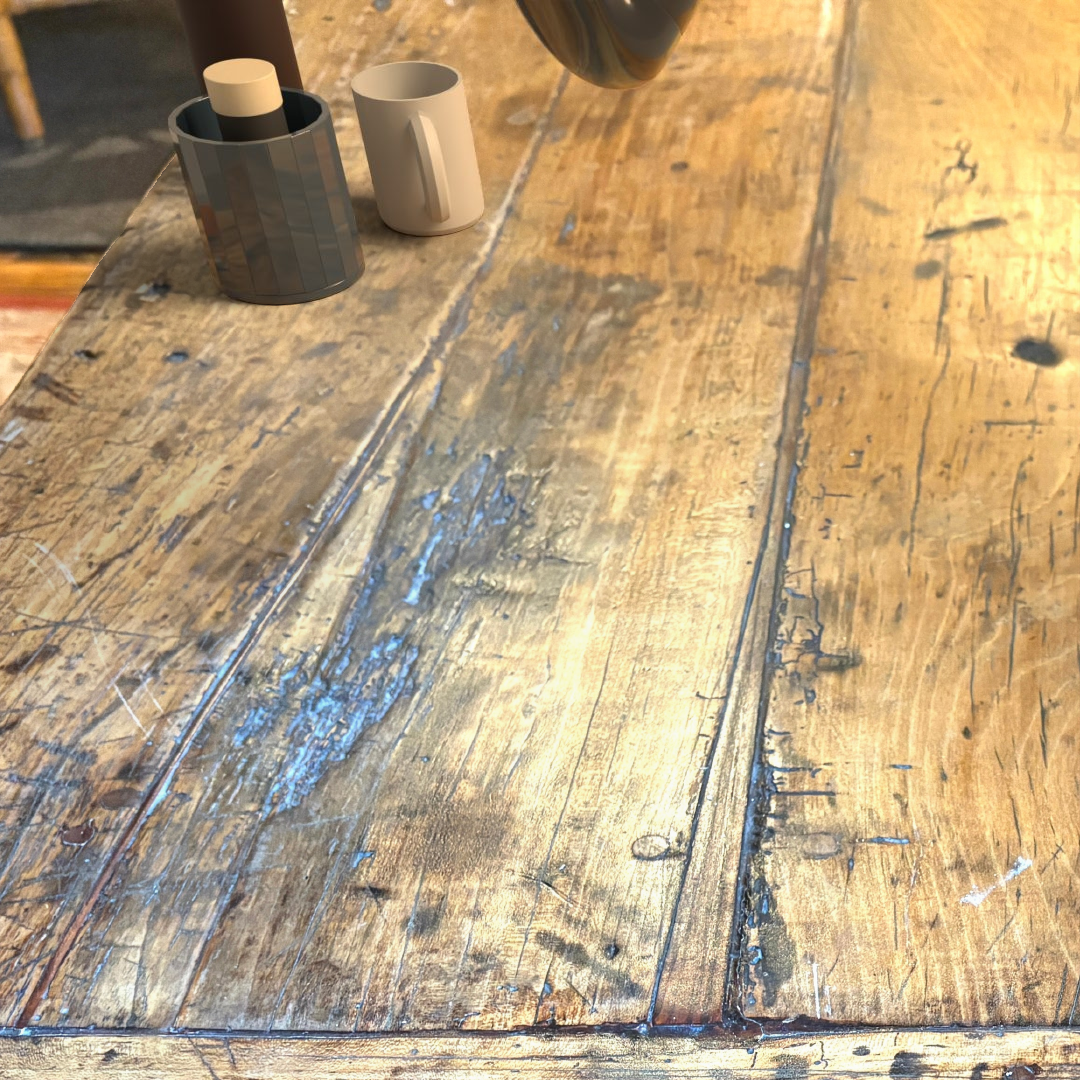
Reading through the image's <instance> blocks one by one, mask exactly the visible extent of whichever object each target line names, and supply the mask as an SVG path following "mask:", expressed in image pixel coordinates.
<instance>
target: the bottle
mask: <svg viewBox="0 0 1080 1080" xmlns="http://www.w3.org/2000/svg"><path fill="white" fill-rule="evenodd" d="M174 1H175V4H176V9H177V11H178V15H179V19H180V22H181V25H182V30H183V33H184V36H185V40H186V44H187V48H188V51H189V54H190V59H191V62H192V65H193V69H194V71H195V75H196V80H197V83H198V86H199V90H200V94H201V96H203V95H206V94H208V91H207V87H206V84H205V80H204V76H203V72H204V70H205V69H206V68H207V67H209V66H211V65H213V64H215V63H218V62H222V61H226V60H232V59H259V60H264V61H267V62H269V63H271V64H272V65H273V66H274V68H275V71H276V75H277V79H278V83H279V87H288V88H294V89H301V90H305V88H304V85H303V80H302V76H301V72H300V68H299V64H298V60H297V56H296V51H295V48H294V43H293V39H292V34H291V30H290V26H289V23H288V17H287V14H286V11H285V10H286V9H285V6H284V2H283V0H174Z"/></svg>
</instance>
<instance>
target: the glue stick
mask: <svg viewBox="0 0 1080 1080" xmlns="http://www.w3.org/2000/svg"><path fill="white" fill-rule="evenodd" d="M203 76H204V80H205V84H206V87H207V91H208V95H209V98H210V102H211V105H212V108H213V110H214V111H215V114H216V117H217V121H218V124H219V128H220V132H221V135H222V139H223V142H248V141H258V140H266V139H271V138H276V137H280V136H285V135H288V134H289V130H288V126H287V122H286V118H285V114H284V110H283V106H282V103H283V100H282V95H281V91H280V87H279V83H278V79H277V75H276V71H275V68H274V66H273V65H272V64H271V63H269V62H267V61H264V60H259V59H232V60H226V61H222V62H218V63H215V64H213V65H211V66H209V67H207V68H206V69H205V70H204V72H203Z"/></svg>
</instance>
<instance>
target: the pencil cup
mask: <svg viewBox="0 0 1080 1080" xmlns="http://www.w3.org/2000/svg"><path fill="white" fill-rule="evenodd" d="M280 91H281V95H282V100H283V103H282V106H283V110H284V114H285V118H286V122H287V126H288V130H289V134H288V135H285V136H280V137H276V138H271V139H266V140H258V141H248V142H223V139H222V135H221V132H220V128H219V124H218V121H217V117H216V114H215V111H214V110H213V108H212V105H211V102H210V98H209V95H208V94H206V95H203V96H202V95H201V96H198V97H195V98H191V99H189V100H188V101H186V102H184V103H182V104H181V105H179V106H177V107H175V108H174V110H173V111H172V112H171V113H170V115H169V116H168V118H167V122H168V123H167V125H168V130H169V133H170V137H171V140H172V144H173V147H174V150H175V154H176V158H177V161H178V164H179V167H180V168H179V169H180V171H181V175H182V178H183V181H184V184H185V187H186V191H187V194H188V198H189V201H190V205H191V208H192V212H193V214H194V218H195V221H196V225H197V228H198V231H199V235H200V238H201V242H202V246H203V249H204V252H205V255H206V259H207V262H208V266H209V269H210V272H211V276H212V277H213V280H214V283H215V285H216V287H217V288H218V290H220V292H222V293H223V294H224V295H226V296H228V297H230V298H233V299H234V300H238V301H242V302H245V303H251V304H258V305H294V304H300V303H306V302H311V301H312V302H313V301H317V300H320V299H324V298H327V297H330V296H332V295H335V294H338V293H340V292H342V291H344V290H347V289H348V288H349V287H351V286H353V285H354V284H355V283H357V282H358V280H360V278H362V276H363V275H364V273H365V271H366V261H365V257H364V251H363V246H362V243H361V242H362V241H361V239H360V233H359V229H358V225H357V221H356V216H355V212H354V209H353V204H352V200H351V194H350V191H349V186H348V183H347V177H346V173H345V169H344V166H343V161H342V156H341V152H340V147H339V144H338V139H337V134H336V130H335V126H334V122H333V118H332V113H331V109H330V104H329V103H328V101H326V100H325V99H324V98H322V97H321V96H320V95H319V94H316V93H313V92H310V91H307V90H305V89H304V90H301V89H294V88H288V87H280Z"/></svg>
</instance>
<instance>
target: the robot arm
mask: <svg viewBox="0 0 1080 1080" xmlns="http://www.w3.org/2000/svg"><path fill="white" fill-rule="evenodd" d="M513 1H514V3H515V5H516V7H517V9H518V10H519V12H520V14H521V15H522V17H523V19H524V20H525V22H526V23H527V25H528V27H529V28H530V30H531V31H532V33H533V35H535V37H536V38H537V40H538V41H539V42H540V43H541V44H542V46H543V47H544V48H545V49H546V50H547V51H548V52H549V54H550V55H551V56H552V57H553V58H554V59H555V60H556V61H557V62H558V63H559V64H560V65H562V66H563V67H564V68H565V69H566V70H567V71H569V72H570V73H572V74H573V75H574V76H576V77H578V78H579V79H581V80H583V81H584V82H586V83H588V84H591V85H593V86H594V87H597V88H601V89H605V90H610V91H630V90H636V89H639V88H642V87H644V86H646V85H648V84H650V82H652V81H653V80H654V79H656V77H658V75H659V74H660V73H661V72H662V71H663V69H664V68H665V67H666V65H667V63H668V62H669V60H670V59H671V57H672V55H673V53H674V51H675V50H676V48H677V46H678V44H679V43H680V41H681V38H682V36H684V33H685V32H686V30H687V28H688V27H689V25H690V23H691V22H692V20H693V17H694V16H695V15H696V12H697V11H698V9H699V8H700V5H701V4H702V2H703V0H513Z"/></svg>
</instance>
